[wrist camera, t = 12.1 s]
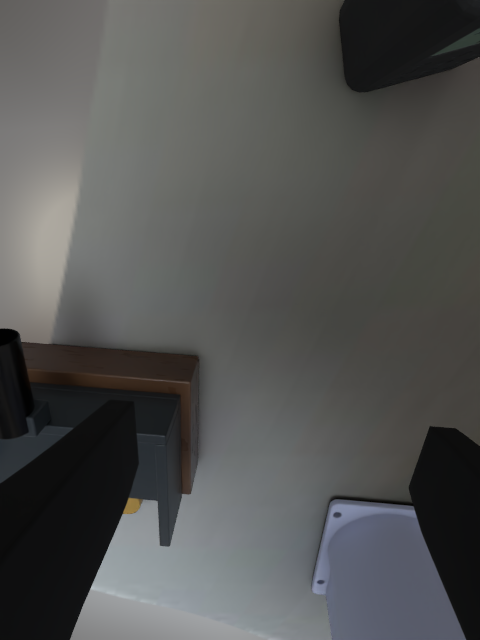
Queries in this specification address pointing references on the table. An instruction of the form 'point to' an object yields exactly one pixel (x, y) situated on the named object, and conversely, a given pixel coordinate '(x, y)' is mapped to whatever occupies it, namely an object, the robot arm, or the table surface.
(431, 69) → the walkie-talkie
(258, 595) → the table surface
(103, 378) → the stand
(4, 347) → the dark grey tray
